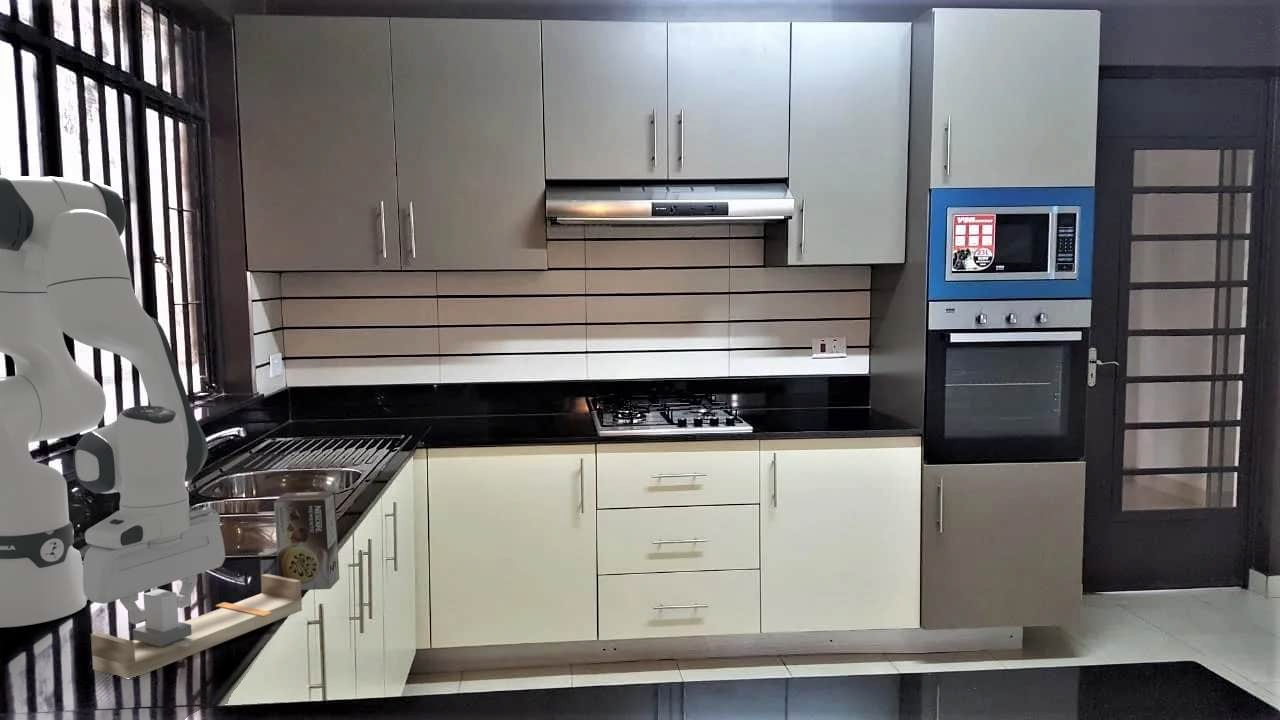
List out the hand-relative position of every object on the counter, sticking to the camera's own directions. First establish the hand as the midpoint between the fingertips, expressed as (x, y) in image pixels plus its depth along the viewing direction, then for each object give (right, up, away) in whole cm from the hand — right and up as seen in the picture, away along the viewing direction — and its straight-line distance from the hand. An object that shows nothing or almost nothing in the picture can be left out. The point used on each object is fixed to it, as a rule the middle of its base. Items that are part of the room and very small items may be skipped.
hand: (161, 614), depth 138 cm
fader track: (+3, -5, +7) cm, 9 cm away
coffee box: (+11, -3, +31) cm, 33 cm away
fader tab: (0, -3, 0) cm, 3 cm away
